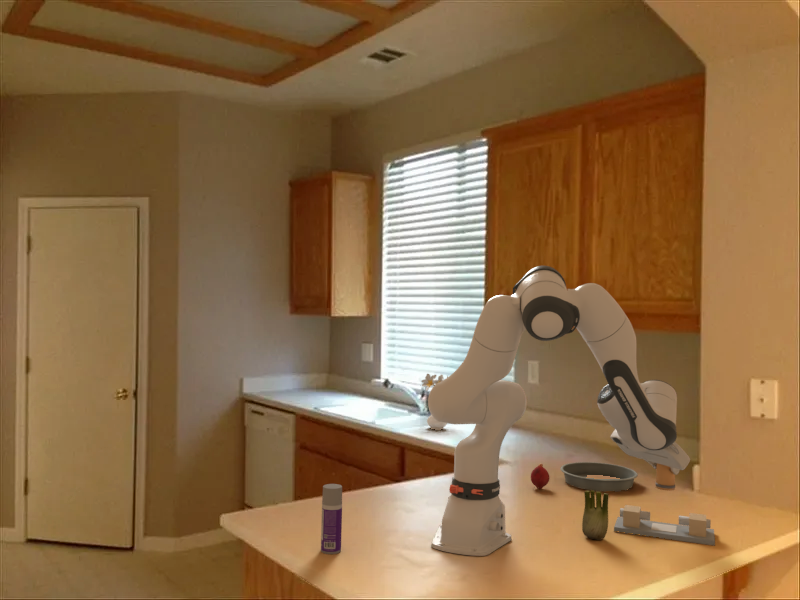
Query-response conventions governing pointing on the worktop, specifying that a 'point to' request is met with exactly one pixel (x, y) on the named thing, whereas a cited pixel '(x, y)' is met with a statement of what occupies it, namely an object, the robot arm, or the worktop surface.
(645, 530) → the bench
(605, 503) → the fennel bulb
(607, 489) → the cake pan
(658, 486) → the sleeve
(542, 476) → the onion
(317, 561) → the worktop surface
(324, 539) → the container
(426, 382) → the flower vase
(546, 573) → the worktop surface
